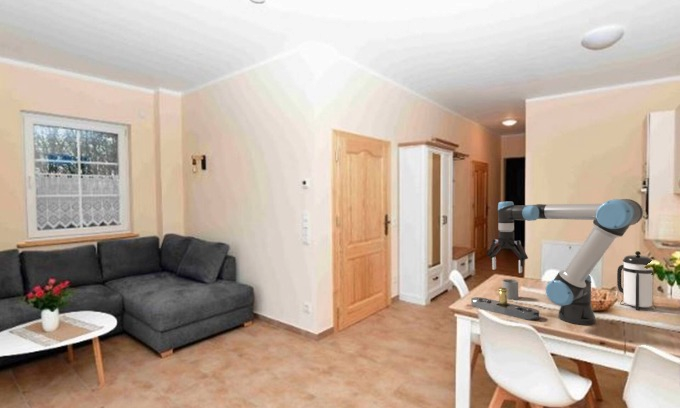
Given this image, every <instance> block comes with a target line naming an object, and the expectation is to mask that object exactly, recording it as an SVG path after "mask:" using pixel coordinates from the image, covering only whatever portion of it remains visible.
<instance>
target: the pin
mask: <svg viewBox="0 0 680 408" xmlns="http://www.w3.org/2000/svg"><path fill="white" fill-rule="evenodd" d="M507 291H508V289H507V288H503V287H498V301H499V306H503V307H507V303H508V299H507Z"/></svg>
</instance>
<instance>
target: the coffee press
mask: <svg viewBox="0 0 680 408" xmlns="http://www.w3.org/2000/svg"><path fill="white" fill-rule="evenodd" d="M634 253H635V254H631V255H630V254H628V255H626V256H624V258H623V259H622V263H623V264H620V265H619V266H618V268H617V271H616V272H617V273H616V275H617V276H616V277H617V278H616V286H617V289H618V290H619V292H620V293H622V300H620V302H619V305H621V306H623V305H625V304H626V305H629V306H632V307H635V311H638V310H640V308H651V309H652V310H653V309H657V307H656V305H655V304H654V303H653V300H654V274H653V275H651V274H652V269H651V268H648V269H646V268H644V267H645V266H646V265H647V264H648V263H650V262H651V261H653V259H652V258H650V257H648V256H646V255H641V252H640V251H638V250H637V251H635V252H634ZM622 273H623V281H622ZM622 302H624V303H622ZM652 306H653V307H652Z"/></svg>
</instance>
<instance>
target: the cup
mask: <svg viewBox="0 0 680 408" xmlns="http://www.w3.org/2000/svg"><path fill="white" fill-rule="evenodd" d="M502 288H507V289H508V291H507V300H510V301H511V300H512V301H516V299H517V300H519V280H516V279H509V278H507V279H503V280H502Z"/></svg>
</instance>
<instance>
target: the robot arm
mask: <svg viewBox="0 0 680 408" xmlns="http://www.w3.org/2000/svg"><path fill="white" fill-rule="evenodd" d="M643 214H644V210H643V208H642V206H641V204H640V203H639V202H637V201H636V200H634V199H630V198H622V199H619V198H616V199H615V198H613V199H609V200H607V201H605V202H602V203H561V204H560V203H554V204H553V203H551V204H549V203H548V204H545V203H544V204H543V203H537V204H527V205H526V204H525V205H515V204H514V202H513V201H500V202H498V205H497V216H498V223H497V224H498V227H497V228H498V229H497V230H498V239H497V238H494V239H492V243H491V246H490V248H489V250H488V251H487V254H486V255H487V256H488V257H489V258H490V263H491V264H492V265H491V268H492V270H496V269H497V258H496V255H497V254H498V253H499V252H500V251H501V249H507V250H509V249H510V250H511V251H512V252H513V253H514V254H515V255H516V257H517V258H518V259H519V260H518V273H519V274H521V273H523V267H525V260H527V259H529V256H528V254H527V252H526V251H525V249H524V247H523V245H522V241H521V240H515V221H527V222H529V221H537V220H581V221H582V220H584V221H587V220H588V221H592V225H593V228H592V230H591V231H590V232H589V233H588V235H587V236H586V238H585V240H584V241H583V242H582V244H581V246H580V247H579V248H578V250H577V251H576V253H575V255H574V256H573V257H572V259H571V260H570V262H569V263H568V265H567V267H566V268H565V269H561V270H559V271H558V273H557V274H556V276H555V277H554V278H553V279H552V280H551V281H549V282H547V284H546V286H545V294H546V297H547V298H548V299H549V301H551V302H552V303H553V304H555V305H557V306H560V308H559V310H558V319H559V320H561V321H563V322H566V323H570V324H573V325H583V326H587V325H588V326H589V325H594V324H596V316H595V314H594V309H593V308H592V278H591V276H590V275H591V273H592V271H594V269H595V267H596V266H597V265H598V263H599V262H600V260H602V258H603V256H604V255H605V253H606V252H607V250H608V249H609V248H610V247H611V245H612V244H613V242H614V241H615V239H617V238H620V237H623V236H624V235H625V233H626V232H627V230H628V229H629V228H630V227H631V226H633V225H636V224H637V223H639V222H640V221H641V219H642V218H643V216H644V215H643ZM497 244H498V246H497V248H495V247H496V245H497ZM515 245H516V246H517V248H518V249H517V248H516V246H515Z"/></svg>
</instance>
